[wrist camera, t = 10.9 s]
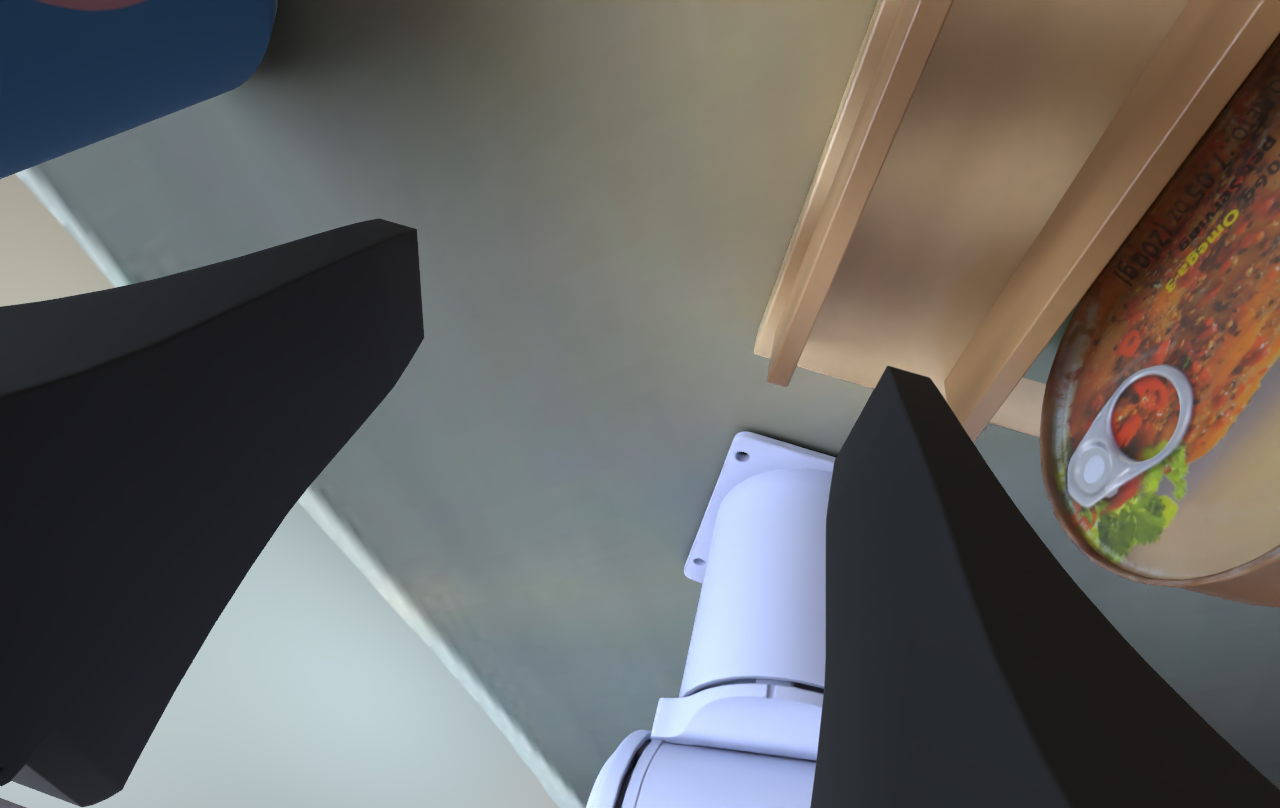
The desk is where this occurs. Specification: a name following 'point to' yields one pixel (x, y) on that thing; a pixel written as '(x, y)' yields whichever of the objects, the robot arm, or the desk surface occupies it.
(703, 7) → the desk surface
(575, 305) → the desk surface
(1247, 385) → the tin
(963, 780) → the robot arm
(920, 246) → the rack
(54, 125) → the soda can
